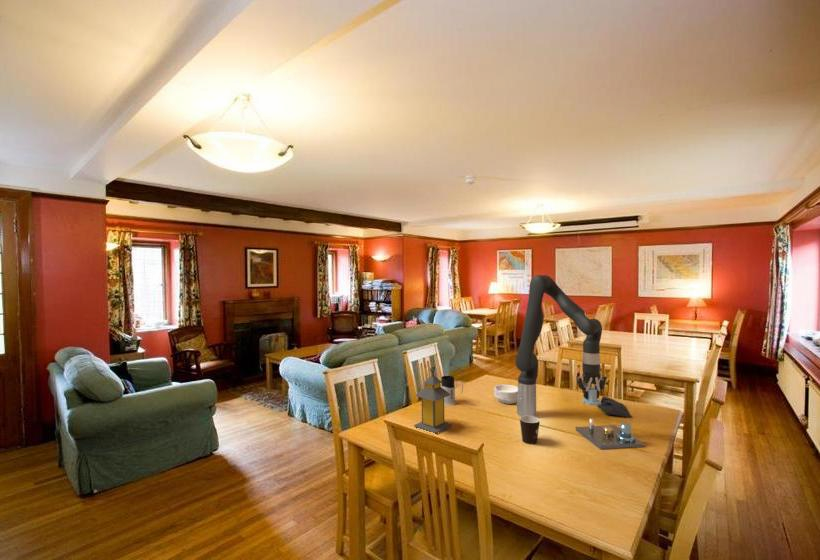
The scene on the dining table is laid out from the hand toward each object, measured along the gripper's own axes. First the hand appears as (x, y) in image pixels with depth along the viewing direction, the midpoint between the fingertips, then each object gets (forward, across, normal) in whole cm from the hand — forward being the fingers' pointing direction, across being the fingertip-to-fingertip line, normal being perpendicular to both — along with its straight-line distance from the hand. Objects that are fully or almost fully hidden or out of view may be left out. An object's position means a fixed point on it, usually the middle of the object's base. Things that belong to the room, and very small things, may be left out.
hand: (591, 398), depth 179 cm
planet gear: (+2, 0, 0) cm, 2 cm away
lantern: (+17, -72, +18) cm, 76 cm away
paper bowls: (+17, -23, +49) cm, 57 cm away
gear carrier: (+17, +5, -5) cm, 18 cm away
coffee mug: (+17, -30, -3) cm, 35 cm away
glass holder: (+17, -56, +49) cm, 76 cm away
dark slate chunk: (+18, +29, +28) cm, 44 cm away
